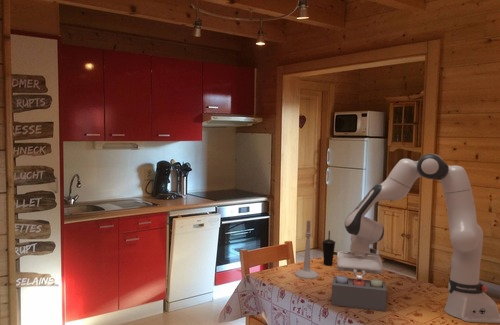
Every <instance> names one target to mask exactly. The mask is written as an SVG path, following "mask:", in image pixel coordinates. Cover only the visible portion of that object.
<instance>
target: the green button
mask: <svg viewBox="0 0 500 325" xmlns="http://www.w3.org/2000/svg"><path fill="white" fill-rule="evenodd" d="M370 280H371V287H380V288H382V282H383V280H381V279H379V278H372V279H370Z"/></svg>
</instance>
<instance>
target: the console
mask: <svg viewBox="0 0 500 325" xmlns="http://www.w3.org/2000/svg"><path fill="white" fill-rule="evenodd" d="M336 280H337V276H333V278H332V284H331V285H332V286H331V302H330V303H331V304H330V305H331V306H336V305H338V306H337V307H345V306H346V308H353V307H355V308H354V309H363V310H371V311H381V312H386V311H387V300H388V299H387V296H388V295H387V294H388V290H387V285H386V282H385V281H382V288H380V287H371V279H363V280H362V281H364V282H365V285H364V286H361V285H353V283H354V280H356V278H351V277H349V278H348V277H347V284H342V283H336Z"/></svg>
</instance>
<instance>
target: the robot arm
mask: <svg viewBox="0 0 500 325" xmlns="http://www.w3.org/2000/svg"><path fill="white" fill-rule="evenodd" d="M419 178H424V179H427V180H436V181H437V180H438V181H439V182H440V184H441V187H442V192H443V196H444V201H445V206H446V212H447V222H448V232H449V239H450V240H449V241H450V243H451V246H452V247H453V249H452V255H451V260H450V276H449V279H448V290H447V291H448V295H447V300H446V304H445V306H444V309H443V311H444V312H445V313H446V314H448V315H449V316H452V317H455V318H457V319H460V320H462V321H464V322H467V323H481V324H483V323H484V324H500V312H499V309H498V306H497V303H496V301H495V300H494V299H492V298H491V297H490V296H489V295H487V293H485V292H487V291H488V290H489V289H488V286H486V285H484V284H483V283H481V282H480V271H481V269H480V268H481V261H482V253H483V243H484V230H483V228H482V227H481V226H480V225H479V224H478V219H477V211H476V204H475V199H474V194H473V189H472V185H471V181H470V178H469V176H468V173H467V172H466V169H465V168H464V167H463V166H460V165H457V164H456V165H448V164H447V163H446V162H445V161H444V159H443V158H442V157H441V156H440V155H438V154H435V153H426V154H423V155H422V156H421V157H420V158H419V159H418V160H417V161H416V160H412V159H410V158H402V159H400V160H399V161H398V162H397V163H395V165H394V166H393V168H392V170H391V171H390V172H389V173H388V176H387V177H386V179H385V180H384V181H383V182H382V183H379V184H376V185H374V186H373V187H372V188H371V189H370V190H368V192H367V194H365V196H364V197H363V199H362V200H360V202H359V203H358V205H357V206H356V208H354V210H353V211H352V212H350V213H349V214H348V215H347V217H346V218H345V220H344V227H345V230H346V232H347V233H348V234H350V243H351V244H350V247H349V248H350V250H349V251H343V250H342V251H341V250H340V251H339V252H337V253H336V260H337V262H336V269H337V270H338V271H340V272H341V271H344V272H353V275H354V276H355V279H356V280H357V281H362V280H364V279H363V278H364V277H365V275H366V274H370V275H373V274H374V275H382V273H383V271H384V269H383V268H384V267H383V261H382V257H381V256H380V251H379V250H378V249H375V248H372V247H370V245H373V244H376V243H378V242H380V241H381V240H382V239H383V238H384V236H385V228H384V225H383V224H382V223H380V222H378V221H376V220H374V219H371V218H368V217H367V216H366V214H367V213H369V211H370V210H371V209H372V207H373V206H374V205H375V204H376V203H377V202H380V201H392V202H393V201H399V200H402V199H405V197H406V196H407V195H408V194H409V192H410V190H411V189H412V187H413V185H414V183H415V182H416V181H417V179H419ZM358 273H360V274H361V275H358Z"/></svg>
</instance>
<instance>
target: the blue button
mask: <svg viewBox="0 0 500 325" xmlns="http://www.w3.org/2000/svg"><path fill="white" fill-rule="evenodd" d="M336 277H337V280H336V283H342V284H347V278H348V276H345V275H336Z"/></svg>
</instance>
